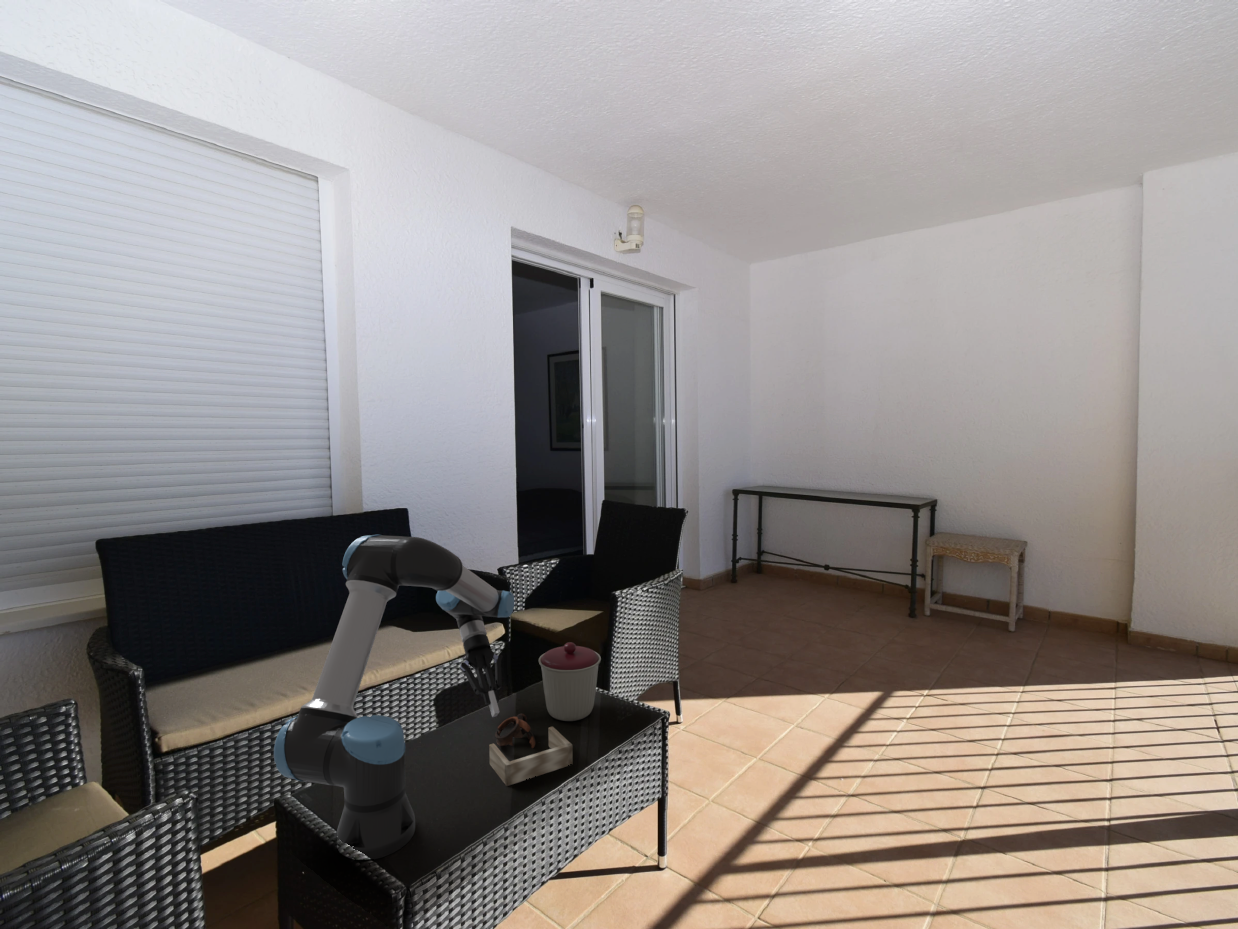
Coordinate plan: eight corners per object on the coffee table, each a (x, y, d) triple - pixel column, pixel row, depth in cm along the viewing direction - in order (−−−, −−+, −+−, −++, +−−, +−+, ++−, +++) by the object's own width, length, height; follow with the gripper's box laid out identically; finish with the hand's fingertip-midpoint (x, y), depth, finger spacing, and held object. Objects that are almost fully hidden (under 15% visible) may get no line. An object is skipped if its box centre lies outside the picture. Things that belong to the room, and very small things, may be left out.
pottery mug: (534, 756, 159) (518, 732, 157) (503, 768, 161) (487, 745, 158) (542, 723, 170) (527, 700, 168) (513, 735, 172) (497, 713, 170)
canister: (564, 735, 169) (563, 659, 167) (526, 712, 182) (526, 642, 181) (613, 714, 181) (613, 643, 179) (575, 694, 194) (574, 628, 193)
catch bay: (506, 786, 145) (506, 765, 144) (489, 764, 154) (489, 744, 154) (572, 764, 154) (572, 745, 154) (552, 744, 163) (552, 726, 163)
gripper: (492, 641, 193) (514, 714, 180) (451, 649, 186) (470, 726, 173) (498, 629, 188) (521, 703, 175) (456, 637, 181) (476, 715, 168)
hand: (495, 714), depth 174 cm, fingers closed
